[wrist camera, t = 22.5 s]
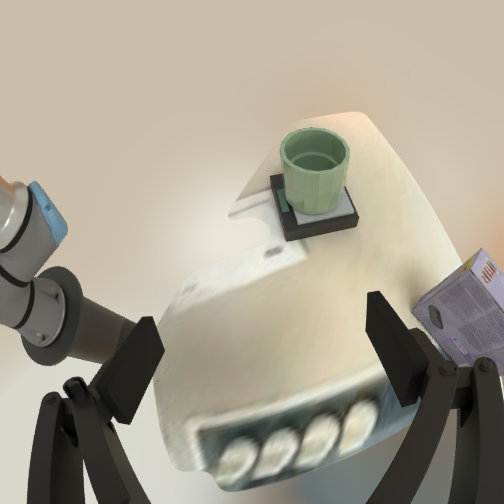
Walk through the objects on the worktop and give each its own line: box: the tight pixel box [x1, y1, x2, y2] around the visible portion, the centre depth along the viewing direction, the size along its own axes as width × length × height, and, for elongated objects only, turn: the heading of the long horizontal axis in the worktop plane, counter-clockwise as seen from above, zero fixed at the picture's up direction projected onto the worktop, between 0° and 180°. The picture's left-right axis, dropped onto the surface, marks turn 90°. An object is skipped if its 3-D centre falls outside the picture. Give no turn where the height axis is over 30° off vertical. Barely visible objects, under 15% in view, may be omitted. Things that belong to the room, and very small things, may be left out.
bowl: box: [280, 127, 349, 215], centre depth 43 cm, size 10×10×10 cm
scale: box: [270, 174, 359, 242], centre depth 49 cm, size 13×13×4 cm
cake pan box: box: [412, 248, 504, 376], centre depth 28 cm, size 19×5×18 cm, turn 37°
